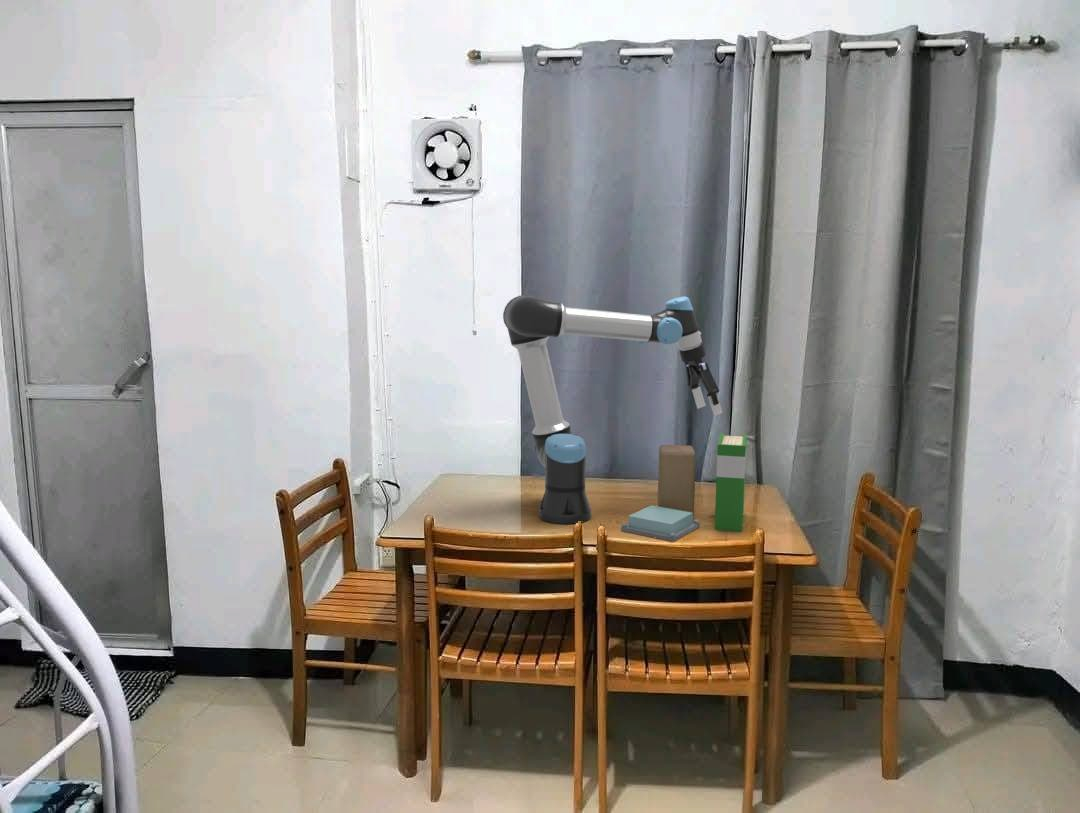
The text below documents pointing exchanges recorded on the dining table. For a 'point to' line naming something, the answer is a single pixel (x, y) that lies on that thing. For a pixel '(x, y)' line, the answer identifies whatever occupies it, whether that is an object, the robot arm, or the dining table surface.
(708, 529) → the dining table surface
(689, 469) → the wooden block
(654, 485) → the dining table surface
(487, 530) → the dining table surface
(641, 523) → the base plate
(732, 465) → the hardback book
